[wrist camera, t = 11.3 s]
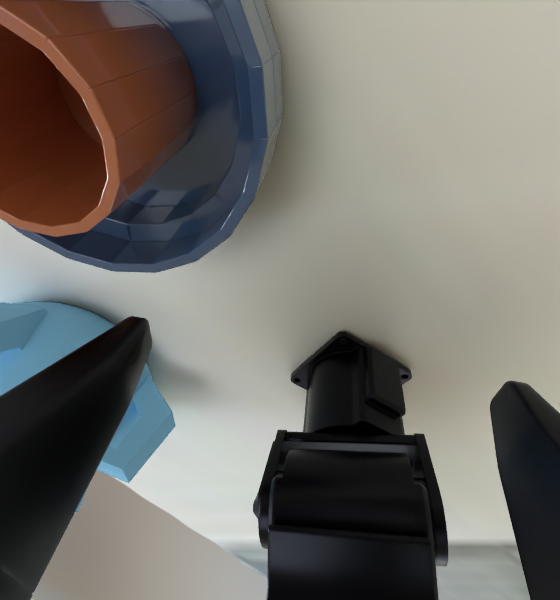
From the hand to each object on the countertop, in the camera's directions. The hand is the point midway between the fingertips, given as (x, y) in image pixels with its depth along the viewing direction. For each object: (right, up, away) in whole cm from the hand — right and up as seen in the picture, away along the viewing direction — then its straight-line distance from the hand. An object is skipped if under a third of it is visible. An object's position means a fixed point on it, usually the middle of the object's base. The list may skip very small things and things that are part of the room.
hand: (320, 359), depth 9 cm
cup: (-8, +11, +7) cm, 15 cm away
